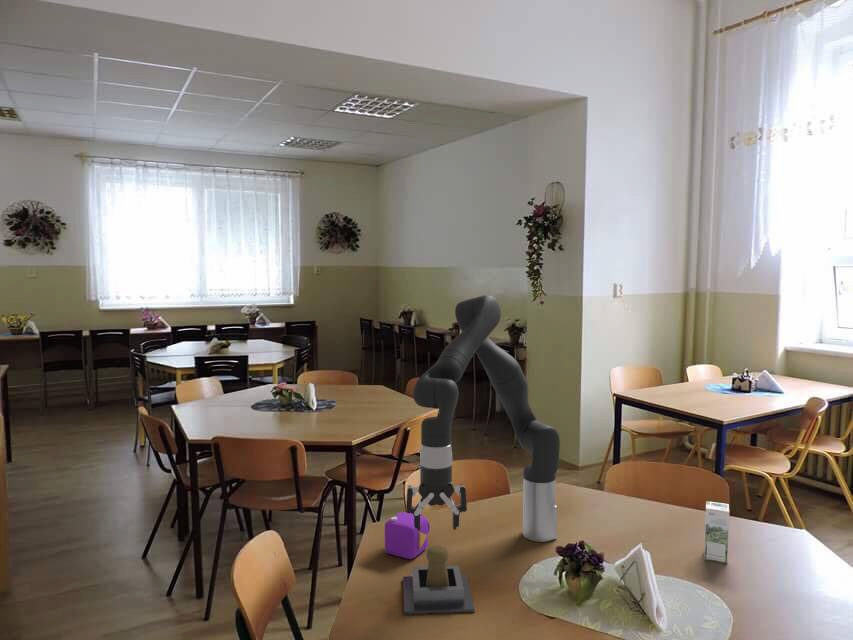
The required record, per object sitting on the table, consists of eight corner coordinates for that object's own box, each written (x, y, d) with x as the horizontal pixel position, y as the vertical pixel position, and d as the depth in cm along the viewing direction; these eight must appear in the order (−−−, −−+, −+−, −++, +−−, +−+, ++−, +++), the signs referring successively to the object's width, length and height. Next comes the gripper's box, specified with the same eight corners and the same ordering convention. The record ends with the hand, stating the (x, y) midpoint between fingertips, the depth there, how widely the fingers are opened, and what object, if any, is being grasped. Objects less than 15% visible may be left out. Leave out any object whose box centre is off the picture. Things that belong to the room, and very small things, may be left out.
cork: (451, 585, 153) (450, 542, 152) (449, 599, 147) (449, 553, 146) (426, 584, 154) (426, 541, 153) (423, 597, 148) (423, 552, 147)
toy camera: (435, 541, 179) (434, 507, 179) (419, 563, 167) (418, 526, 166) (400, 536, 183) (399, 503, 182) (381, 557, 170) (381, 521, 169)
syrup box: (727, 555, 170) (729, 503, 168) (727, 564, 164) (729, 510, 163) (704, 551, 172) (705, 499, 171) (703, 560, 167) (705, 507, 166)
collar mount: (466, 577, 159) (466, 561, 158) (474, 612, 143) (474, 594, 142) (403, 579, 158) (402, 563, 157) (404, 614, 142) (404, 596, 141)
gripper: (464, 456, 152) (464, 521, 153) (405, 458, 151) (406, 523, 152) (468, 466, 144) (468, 534, 145) (406, 468, 143) (406, 536, 145)
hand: (436, 528), depth 149 cm, fingers open, 8 cm apart
